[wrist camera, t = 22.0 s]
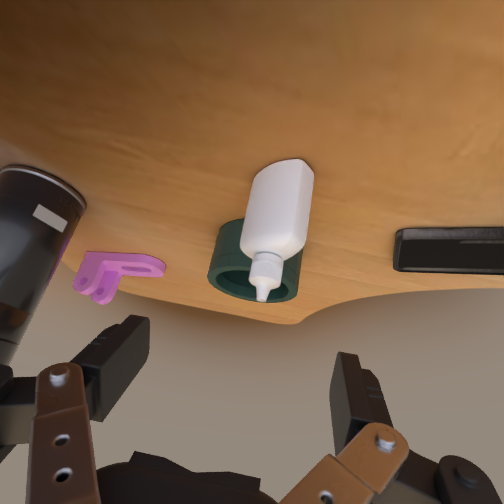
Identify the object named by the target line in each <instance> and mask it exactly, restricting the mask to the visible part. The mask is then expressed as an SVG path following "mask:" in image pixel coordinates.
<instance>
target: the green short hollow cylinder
mask: <svg viewBox="0 0 504 504" xmlns="http://www.w3.org/2000/svg"><path fill="white" fill-rule="evenodd" d="M244 220H245V219H239V220H234V221H231V222H228V223H227V224H225V225H224V226H222V228H221V229H220V231H219V234H218V237H217V240H216V244H215V248H214V252H213V256H212V260H211V263H210V267H209V271H208V275H207V278H208V280H209V282H210V283H211V284H212V285H213V286H214V287H215V288H217V289H218V290H220V291H222V292H224V293H226V294H229V295H231V296H234V297H237V298H240V299H244V300H248V301H254V302H260V301H257V290H256V286H254V285H252V284H251V283H250V282H249V276H250V270H251V265H252V260H253V259H252V258H250V257H248V256H247V255H246V254H244V253H243V252H242V250H241V248H240V239H241V234H242V229H243V224H244ZM302 253H303V248H302V249H301V250H300V251H299V252H298V253H296V254H295V255H293V256H292V257H290V258H288V259H287V260H285V261H283V262H284V264H283V270H282V277H281V283H280V286H279V287H278V288H276V289H271V290H270V292H269V294H268V297H267V300H266V302H263V303H277V302H285V301H288V300H291V299H293V298H294V297H296V295H297V292H298V284H299V276H300V268H301V260H302Z"/></svg>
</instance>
